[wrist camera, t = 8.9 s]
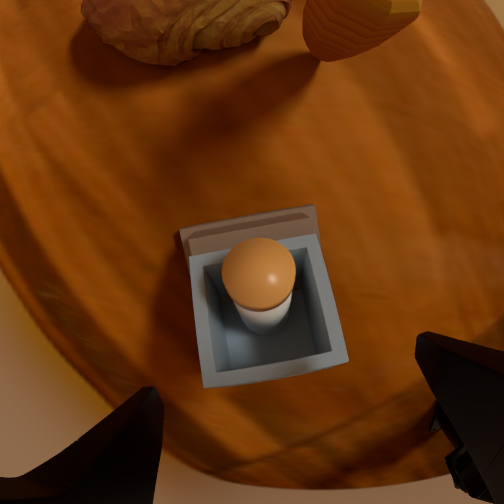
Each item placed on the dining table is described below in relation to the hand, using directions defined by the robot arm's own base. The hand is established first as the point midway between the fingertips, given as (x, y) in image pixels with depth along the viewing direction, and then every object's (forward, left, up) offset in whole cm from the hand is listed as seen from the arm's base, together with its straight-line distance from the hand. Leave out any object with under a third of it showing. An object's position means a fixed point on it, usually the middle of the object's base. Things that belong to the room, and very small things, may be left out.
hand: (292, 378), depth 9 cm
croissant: (+22, +2, -13) cm, 26 cm away
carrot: (+14, -7, -12) cm, 20 cm away
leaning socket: (-2, 0, -12) cm, 12 cm away
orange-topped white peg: (-2, 0, -10) cm, 11 cm away
